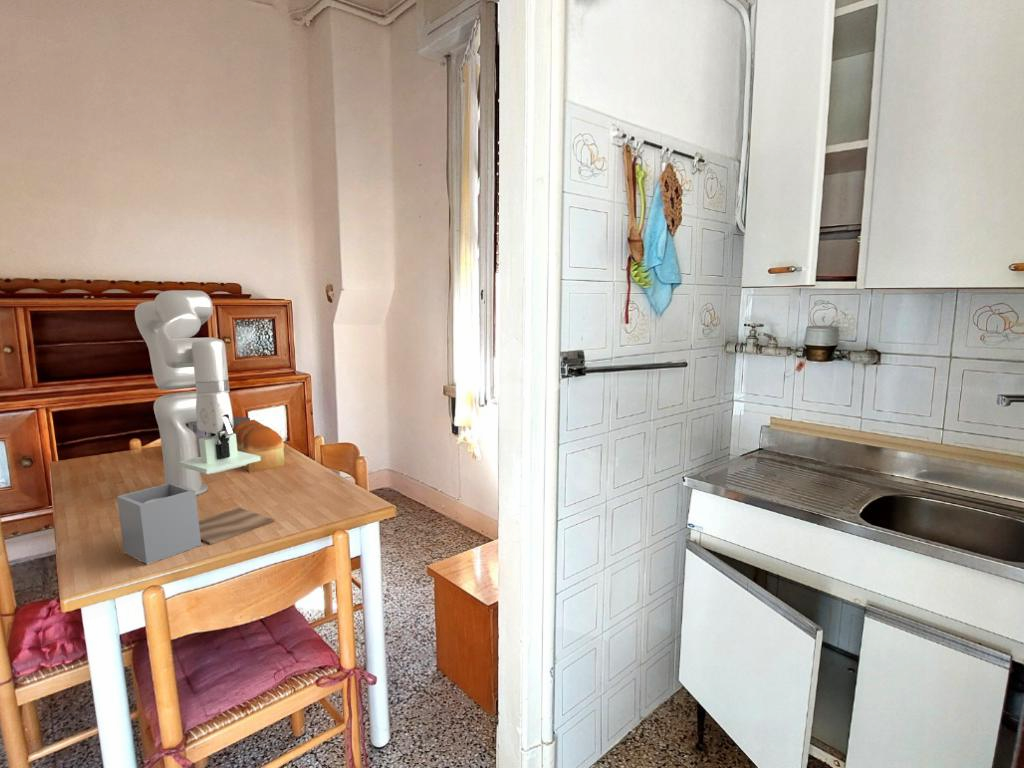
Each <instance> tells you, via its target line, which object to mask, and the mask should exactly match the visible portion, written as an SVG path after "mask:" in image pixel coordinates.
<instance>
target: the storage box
mask: <svg viewBox="0 0 1024 768" xmlns="http://www.w3.org/2000/svg"><path fill="white" fill-rule="evenodd" d="M156 498H162V499H158V500H154V501H151V502H147V503H145V502H146V501H149V500H152V499H156ZM116 500H117V509H118V515H119V517H118V518H119V523H120V532H121V539H122V547H123V553H124V552H126V553H128V554H129V555H131V556H133V557H135V558H137V559H139V560H141V561H143V562H145V563H146V564H148V563H151V562H154V561H157V560H160V559H163V560H165V559H164V558H166V559H168V558H171V557H174V556H176V554H177V555H179V553H180V554H182V553H184V551H185V552H188V551H190V549H191V550H193V549H196V548H198V547H197V546H199V547H201V546H202V541H201V538H200V529H199V521H200V520H199V511H198V501H197V495H196V491H195V490H193V489H190V488H187V487H184V486H181V485H178V484H175V483H172V482H171V483H167V484H166V483H165V484H158V485H156V486H152V487H148V488H147V487H146V488H144V489H141V490H136V491H132V492H128V493H125V494H121V495H118V496H116ZM200 545H201V546H200ZM195 547H196V548H195ZM187 550H188V551H187ZM129 555H128V556H129ZM131 556H130V557H131ZM170 556H171V557H170ZM133 557H132V558H133ZM167 557H168V558H167ZM135 558H134V559H135ZM160 561H161V560H160ZM157 562H158V561H157ZM146 564H145V565H146Z"/></svg>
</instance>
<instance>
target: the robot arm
mask: <svg viewBox="0 0 1024 768" xmlns="http://www.w3.org/2000/svg"><path fill="white" fill-rule="evenodd" d="M213 311H214V306H213V302H212V299H211V297H210V296H209V295H208V293H206V292H205V291H202V290H189V289H188V290H184V289H183V290H179V289H178V290H173V289H172V290H165V291H161V292H160V293H158V294H157V295H156V297H155V299H154V300H152V301H151V300H150V301H146V302H145V301H144V302H141V303H139V304H138V305H137V306H136V307H135V310H134V319H135V322H136V326H137V329H138V331H139V333H140V335H141V337H142V338H143V340H144V341H145V343H146V346H147V348H148V353H149V358H150V364H151V370H152V375H153V379H154V383H155V385H156V387H157V388H158V389H160V390H161V391H162V390H163V391H171V390H173V391H175V390H181V389H184V390H185V389H192V388H193V389H194V388H195V391H188V392H187V391H186V392H177V393H176V392H175V393H170V394H169V393H168V394H164V395H162V396H159V397H157V398H156V399H155V401H154V402H153V411H154V415H155V420H156V423H157V426H158V432H159V437H160V443H161V450H162V452H161V453H162V460H163V468H164V478H165V484H167V483H171V482H172V483H175V484H178V485H181V486H184V487H187V488H190V489H193V490H195V491H196V496H199V495H202V494H203V493H205V492H207V490H208V484H206V483H202V476H201V474H202V473H201V472H197V471H194V470H190V469H187V468H183V467H180V466H179V461H184V460H188V459H193V458H197V457H199V455H198V445H197V438H196V435H195V433H194V432H193V431H192V430H190V429H189V428H188V423H191V422H197V428H198V429H199V430H201V431H203V432H204V433H205V435H206V437H211V436H216V440H217V444H215V446H216V455H217V459H224V458H228V457H230V450H229V442H230V439H229V438H230V436H232V435H233V431H232V429H233V426H234V423H233V418H234V415H233V407H232V402H231V397H230V394H229V393H230V391H231V390H230V382H229V373H228V371H229V370H228V360H227V349H226V343H225V342H224V340H222V339H220V338H216V337H194V336H195V335H196V334H198V332H199V331H200V329H201V326H202V325H204V324H205V323H206V322H207V321H208V320H210V318H211V317H212V314H213V313H214V312H213ZM221 429H224V431H221ZM223 433H224V434H223ZM220 434H222V435H221V437H220Z"/></svg>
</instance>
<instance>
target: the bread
mask: <svg viewBox="0 0 1024 768" xmlns="http://www.w3.org/2000/svg"><path fill="white" fill-rule="evenodd" d="M232 431H233V433H234V434H236V441H237V451H240V452H245V453H249V454H254V455H258V456H260V458H261V460H260V461H257V462H253V463H249V464H247V465H246V466H243V467H244V468H243V467H242V468H243V469H244V470H246V471H247V470H248V471H249V472H248V471H247V472H248V473H250V474H252V473H251V472H253V473H256V472H255V471H258V472H262V471H261V470H263V471H267V470H266V469H268V470H271V468H273V469H276V468H275V467H279V466H283V465H285V462H286V461H285V450H284V448H285V443H284V440H283V438H282V437H281V435H280V434H279V433H278V432H277V431H275V430H274V429H272V428H271V427H269V426H267V425H264V424H262V423H260V422H259V421H258V420H255V419H250V420H247V421H241V422H240V423H238V424H237V425H236V426H235V427H234V428H233V430H232ZM285 466H286V465H285ZM279 468H280V467H279Z"/></svg>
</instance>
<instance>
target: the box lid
mask: <svg viewBox="0 0 1024 768" xmlns="http://www.w3.org/2000/svg"><path fill="white" fill-rule="evenodd" d="M221 435H222V434H221ZM221 435H220V437H221ZM229 439H230V442H229V450H230V457H228V458H224V459H217V455H216V446H215V444H217V440H216V436H211V437H206V438H201V439H199V445H200V454H201V457H197V458H193V459H188V460H184V461H179V466H180V467H183V468H187V469H190V470H194V471H197V472H200V474H205V475H210V474H211V475H214V474H218V473H223V472H226V471H230V470H233V469H237V468H243V467H242V466H246V465H247V464H249V463H253V462H257V461H260V460H261V458H260V456H258V455H254V454H249V453H245V452H240V451H237V441H236V434H234V433H233V435H232V436H230V438H229Z"/></svg>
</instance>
